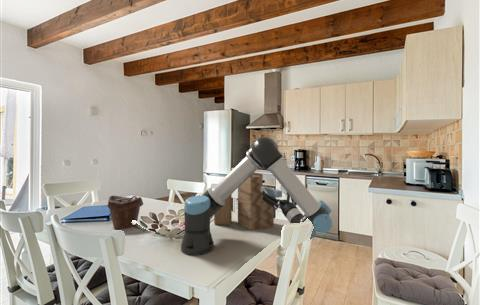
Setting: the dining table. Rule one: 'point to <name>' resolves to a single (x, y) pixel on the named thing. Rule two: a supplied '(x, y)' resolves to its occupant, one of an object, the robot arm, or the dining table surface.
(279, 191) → the slate rail
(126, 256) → the dining table surface
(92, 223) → the dining table surface
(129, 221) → the brown pot
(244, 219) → the walnut stand
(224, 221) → the wooden block
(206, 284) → the dining table surface
